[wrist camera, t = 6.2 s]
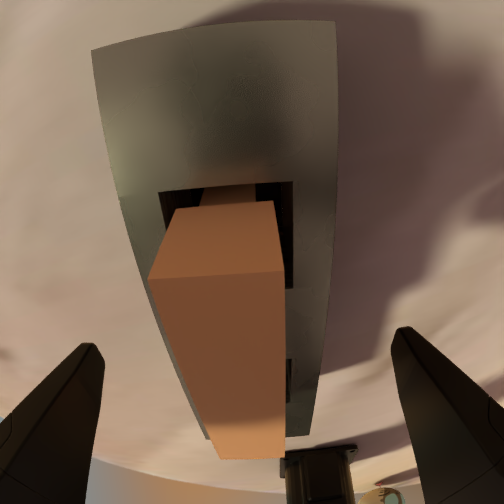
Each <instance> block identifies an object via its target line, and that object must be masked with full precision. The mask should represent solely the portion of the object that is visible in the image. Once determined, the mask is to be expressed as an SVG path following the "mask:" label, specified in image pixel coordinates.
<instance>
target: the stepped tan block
mask: <svg viewBox="0 0 504 504" xmlns="http://www.w3.org/2000/svg"><path fill="white" fill-rule="evenodd" d="M147 280H148V283H149V286H150V289H151V292H152V295H153V298H154V301H155V304H156V307H157V310H158V312H159V315H160V318H161V321H162V324H163V326H164V329H165V332H166V335H167V337H168V340H169V343H170V345H171V348H172V351H173V353H174V356H175V358H176V361H177V363H178V366H179V368H180V371H181V373H182V376H183V378H184V381H185V383H186V385H187V388H188V390H189V392H190V395H191V397H192V399H193V402H194V404H195V406H196V409H197V411H198V413H199V415H200V417H201V420H202V422H203V424H204V426H205V428H206V431H207V433H208V435H209V437H210V439H211V441H212V443H213V445H214V447H215V449H216V451H217V453H218V456H219V458H220V459H264V458H281V457H285V404H286V346H285V278H284V265H283V259H282V252H281V246H280V240H279V233H278V227H277V221H276V215H275V209H274V203H273V201H262V202H256V190H255V183H253V184H239V185H226V186H214V187H205V189H204V192H203V195H202V198H201V202H200V205H199V207H189V208H179V209H176V210H175V213H174V215H173V217H172V220H171V222H170V224H169V227H168V229H167V231H166V234H165V236H164V239H163V241H162V243H161V246H160V248H159V251H158V253H157V256H156V258H155V261H154V263H153V266H152V268H151V271H150V274H149V276H148V279H147Z"/></svg>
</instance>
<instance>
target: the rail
mask: <svg viewBox="0 0 504 504" xmlns="http://www.w3.org/2000/svg"><path fill="white" fill-rule="evenodd" d="M91 55H92V63H93V71H94V78H95V85H96V91H97V98H98V104H99V110H100V115H101V121H102V126H103V131H104V137H105V142H106V146H107V151H108V156H109V160H110V165H111V169H112V174H113V178H114V182H115V186H116V190H117V194H118V198H119V202H120V206H121V210H122V214H123V217H124V221H125V225H126V228H127V232H128V235H129V239H130V242H131V246H132V249H133V252H134V256H135V259H136V262H137V265H138V269H139V272H140V275H141V278H142V281H143V284H144V287H145V290H146V293H147V296H148V299H149V302H150V305H151V308H152V310H153V313H154V316H155V319H156V322H157V324H158V327H159V330H160V332H161V335H162V338H163V340H164V343H165V346H166V348H167V351H168V353H169V356H170V358H171V361H172V363H173V366H174V368H175V371H176V373H177V376H178V378H179V380H180V383H181V385H182V387H183V390H184V392H185V394H186V397H187V399H188V401H189V403H190V406H191V408H192V410H193V412H194V414H195V417H196V419H197V421H198V423H199V425H200V427H201V429H202V432H203V434H204V436H205V438H206V439H208V440H211V439H210V437H209V435H208V433H207V431H206V428H205V426H204V424H203V422H202V420H201V417H200V415H199V413H198V411H197V409H196V406H195V404H194V402H193V399H192V397H191V395H190V392H189V390H188V388H187V385H186V383H185V381H184V378H183V376H182V373H181V371H180V368H179V366H178V363H177V361H176V358H175V356H174V353H173V351H172V348H171V345H170V343H169V340H168V337H167V335H166V332H165V329H164V326H163V324H162V321H161V318H160V315H159V312H158V310H157V307H156V304H155V301H154V298H153V295H152V292H151V289H150V286H149V283H148V280H147V279H148V276H149V274H150V271H151V268H152V266H153V263H154V261H155V258H156V256H157V253H158V251H159V248H160V246H161V243H162V241H163V239H164V236H165V234H166V231H167V229H168V227H169V224H170V222H171V220H172V217H173V215H174V213H175V210H176V209H179V208H189V207H193V204H192V198H191V192H190V189H192V188H203V187H214V186H226V185H239V184H253V183H268V182H281V205H282V227H278V233H279V240H280V246H281V252H282V259H283V265H284V278H285V346H286V404H285V437H295V436H305V435H309V433H310V428H311V422H312V417H313V411H314V405H315V399H316V393H317V387H318V380H319V373H320V367H321V360H322V352H323V345H324V337H325V329H326V320H327V312H328V302H329V293H330V283H331V272H332V260H333V247H334V233H335V217H336V198H337V173H338V64H337V40H336V23H335V21H320V20H265V21H247V22H234V23H223V24H214V25H206V26H198V27H192V28H185V29H179V30H173V31H168V32H163V33H157V34H153V35H148V36H143V37H139V38H135V39H131V40H127V41H123V42H119V43H115V44H112V45H108V46H105V47H101V48H98V49H95V50H91Z"/></svg>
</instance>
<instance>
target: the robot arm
mask: <svg viewBox="0 0 504 504" xmlns="http://www.w3.org/2000/svg"><path fill="white" fill-rule="evenodd" d="M391 357H392V362H393V367H394V372H395V378H396V383H397V389H398V394H399V398H400V402H401V406H402V409H403V413H404V417H405V420H406V424H407V427H408V431H409V435H410V439H411V443H412V447H413V451H414V455H415V459H416V463H417V467H418V472H419V476H420V481H421V485H422V490H423V494H424V499H425V504H504V408H503V407H502V406H500V405H499V404H498V403H497V402H496V401H495V400H494V399H493V398H492V397H489V395H488V394H487V393H486V392H485V391H484V390H483V389H482V388H481V387H480V386H478V385H477V384H476V383H475V382H474V381H473V380H472V379H471V378H470V377H468V376H467V375H466V374H465V373H464V372H463V371H462V370H461V369H459V368H458V367H457V366H456V365H455V364H454V363H453V362H452V361H450V360H449V359H448V358H447V357H446V356H445V355H444V354H442V353H441V352H440V351H439V350H438V349H437V348H435V347H434V346H433V345H432V344H431V343H430V342H428V341H427V340H426V339H425V338H424V337H423V336H421V335H420V334H419V333H418V332H417V331H416V330H414V329H413V328H412V327H410V326H407V327H400V328H398V329H397V330H396V332H395V335H394V338H393V341H392V344H391ZM104 371H105V361H104V359H103V357H102V355H101V353H100V352H99V350H98V348H97V346H96V345H95V344H94V343H81V344H80V345H79V346H78V347H77V348H76V349H75V350H74V351H73V352H72V353H71V354H70V355H69V356H67V357H66V358H65V359H64V360H63V361H62V362H61V363H60V364H59V365H58V366H57V367H56V368H55V369H54V370H53V371H52V372H51V373H50V374H49V375H48V376H47V377H46V378H45V379H44V380H43V381H42V382H41V383H40V384H39V385H38V386H37V387H36V388H35V389H34V390H33V391H32V392H31V393H30V394H29V395H28V396H27V397H26V398H25V399H24V400H23V401H22V402H21V403H20V404H19V405H18V406H17V407H16V408H15V409H14V410H13V411H12V413H10V414H9V415H8V416H7V417H6V418H5V419H4V420H3V421H2V422H1V423H0V504H85V499H86V491H87V483H88V476H89V469H90V463H91V456H92V450H93V445H94V439H95V433H96V428H97V423H98V418H99V413H100V407H101V398H102V388H103V380H104ZM357 451H358V446H357V445H350V446H344V447H338V448H331V449H323V450H315V451H306V452H295V453H285V457H281V458H280V478H285V483H286V499H287V504H355V498H354V491H353V485H352V478H351V472H350V466H349V465H350V464H351V462H352V460H353V458H354V457H355V455H356V453H357Z"/></svg>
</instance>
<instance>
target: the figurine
mask: <svg viewBox="0 0 504 504" xmlns="http://www.w3.org/2000/svg"><path fill="white" fill-rule="evenodd" d="M382 483H383V482H381V483H378V484H376V485H378V486H380V485H381V484H382ZM358 504H405V499H404V497H403V495H402V494H401V493H400V492H399V491H397V490H395V489H392V488H378V489H374V490H372V491H370V492H368V493H366V494H365V495H364V496H363V497H362V498H361V499H360V500H359V502H358Z"/></svg>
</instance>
